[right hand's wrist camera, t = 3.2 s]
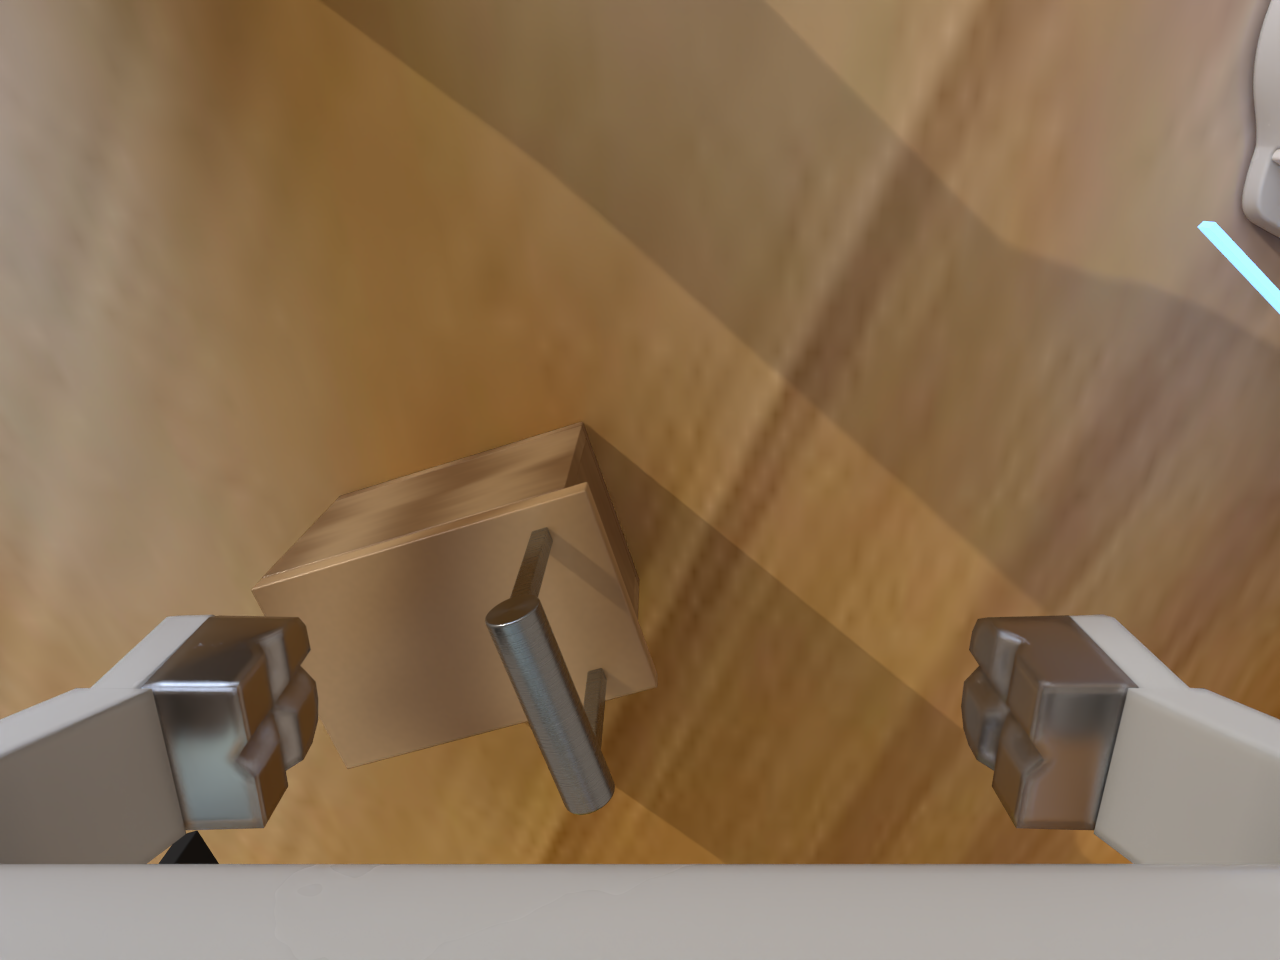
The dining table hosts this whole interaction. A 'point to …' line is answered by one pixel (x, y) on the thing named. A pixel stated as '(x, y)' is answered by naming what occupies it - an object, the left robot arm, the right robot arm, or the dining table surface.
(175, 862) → the left robot arm
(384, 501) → the chest
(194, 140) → the dining table surface
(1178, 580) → the dining table surface
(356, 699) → the lid
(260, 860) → the dining table surface
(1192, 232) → the dining table surface
